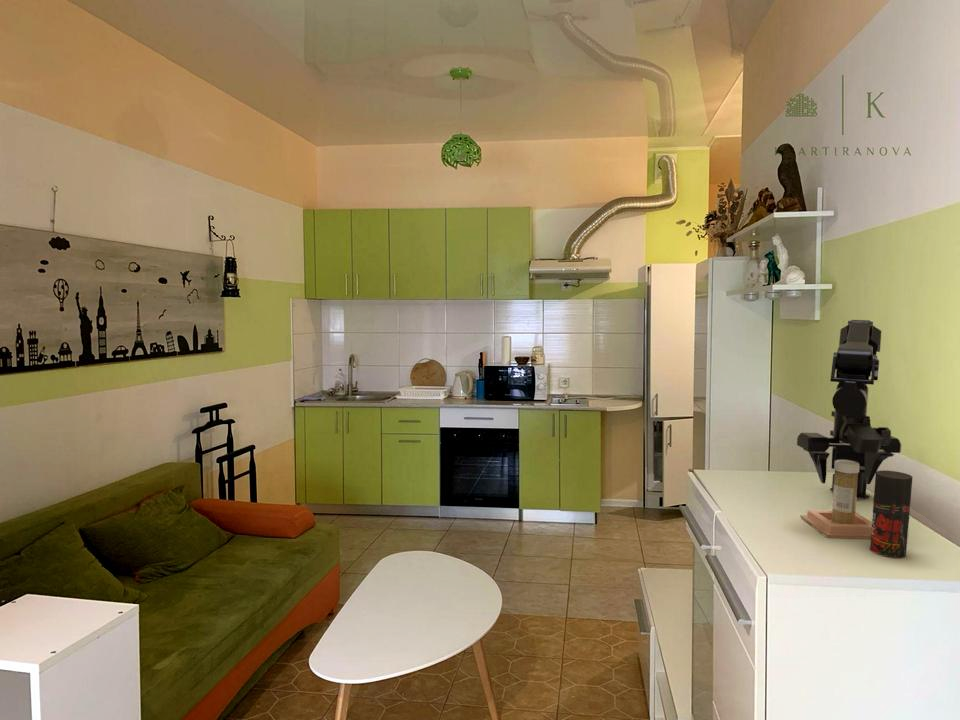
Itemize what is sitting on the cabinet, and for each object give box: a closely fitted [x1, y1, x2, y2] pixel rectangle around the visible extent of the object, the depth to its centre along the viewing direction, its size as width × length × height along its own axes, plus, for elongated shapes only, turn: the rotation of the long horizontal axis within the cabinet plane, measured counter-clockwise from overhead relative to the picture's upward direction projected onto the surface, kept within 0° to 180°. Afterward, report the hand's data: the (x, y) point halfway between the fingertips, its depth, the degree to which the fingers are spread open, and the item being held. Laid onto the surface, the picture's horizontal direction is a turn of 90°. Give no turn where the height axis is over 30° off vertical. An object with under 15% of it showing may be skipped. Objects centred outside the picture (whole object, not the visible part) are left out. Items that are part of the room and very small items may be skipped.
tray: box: [799, 509, 872, 539], centre depth 143 cm, size 12×12×2 cm
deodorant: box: [869, 470, 913, 559], centre depth 130 cm, size 6×6×15 cm
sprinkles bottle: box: [831, 460, 859, 524], centre depth 143 cm, size 5×5×14 cm
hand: (845, 483), depth 142 cm, fingers open, 9 cm apart
